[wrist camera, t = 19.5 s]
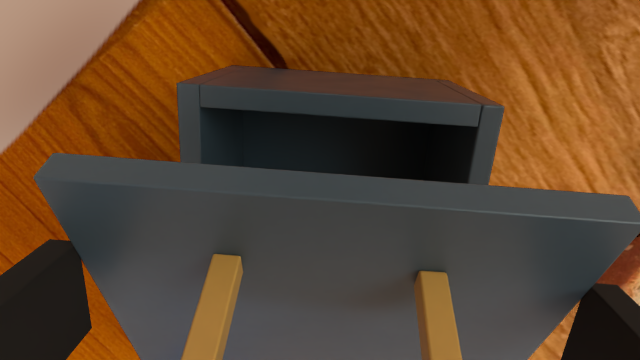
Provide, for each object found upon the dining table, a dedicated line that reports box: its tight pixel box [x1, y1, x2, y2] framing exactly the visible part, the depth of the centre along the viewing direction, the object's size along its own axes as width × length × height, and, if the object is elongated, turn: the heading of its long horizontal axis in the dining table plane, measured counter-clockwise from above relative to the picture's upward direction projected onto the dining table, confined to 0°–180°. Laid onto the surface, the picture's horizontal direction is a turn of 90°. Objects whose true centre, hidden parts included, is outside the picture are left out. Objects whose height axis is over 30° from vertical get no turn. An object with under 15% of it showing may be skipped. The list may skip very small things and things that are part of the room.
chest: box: [177, 65, 504, 185], centre depth 24 cm, size 18×13×9 cm
